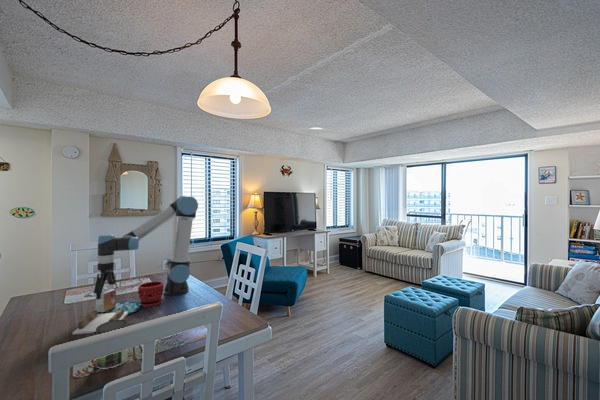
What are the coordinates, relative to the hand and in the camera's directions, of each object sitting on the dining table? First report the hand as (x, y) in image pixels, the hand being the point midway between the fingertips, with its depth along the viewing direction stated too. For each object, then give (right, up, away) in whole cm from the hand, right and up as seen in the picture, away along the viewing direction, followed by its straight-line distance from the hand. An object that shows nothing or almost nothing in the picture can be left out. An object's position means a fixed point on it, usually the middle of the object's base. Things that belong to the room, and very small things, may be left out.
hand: (105, 300), depth 154 cm
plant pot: (+21, -6, +9) cm, 23 cm away
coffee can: (+37, -7, -48) cm, 61 cm away
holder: (+10, -6, -16) cm, 20 cm away
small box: (0, -6, 0) cm, 6 cm away
